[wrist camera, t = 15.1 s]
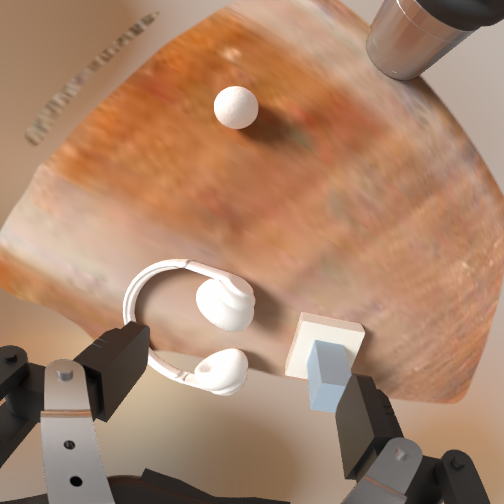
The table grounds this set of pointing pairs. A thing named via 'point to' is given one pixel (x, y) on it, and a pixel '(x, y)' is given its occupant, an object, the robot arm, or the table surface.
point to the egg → (236, 107)
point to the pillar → (327, 375)
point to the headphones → (216, 311)
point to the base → (322, 330)
